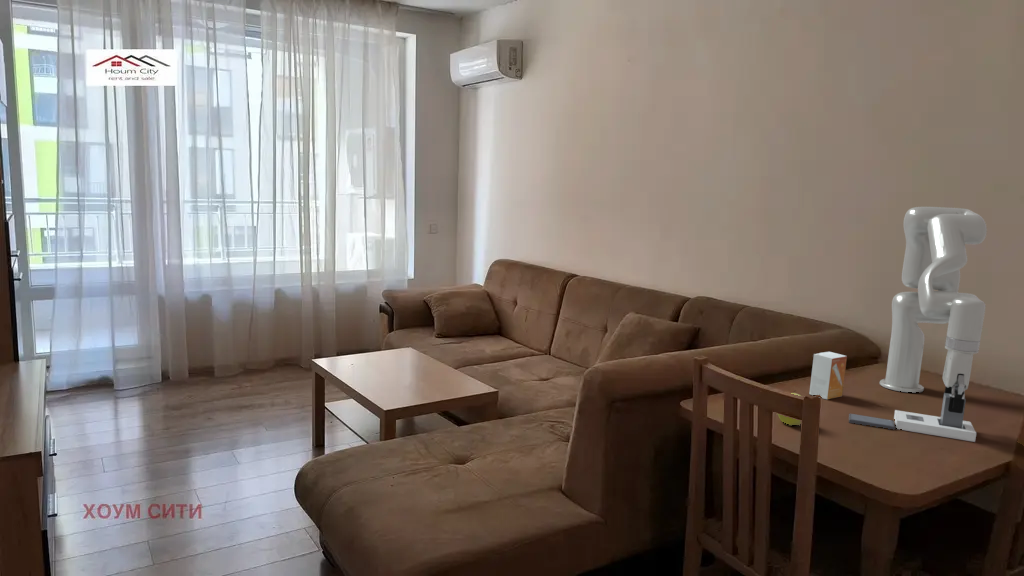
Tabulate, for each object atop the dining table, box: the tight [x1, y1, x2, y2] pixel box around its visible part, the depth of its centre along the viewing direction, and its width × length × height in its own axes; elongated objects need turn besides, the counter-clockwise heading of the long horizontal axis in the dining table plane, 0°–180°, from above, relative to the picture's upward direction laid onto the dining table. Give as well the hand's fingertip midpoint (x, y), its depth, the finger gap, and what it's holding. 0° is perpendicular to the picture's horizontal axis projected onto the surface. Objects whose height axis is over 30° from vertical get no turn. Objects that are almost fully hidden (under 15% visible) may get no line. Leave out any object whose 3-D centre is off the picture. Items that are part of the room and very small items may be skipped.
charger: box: [940, 392, 967, 429], centre depth 186 cm, size 4×4×10 cm
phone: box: [848, 413, 896, 431], centre depth 192 cm, size 6×11×1 cm, turn 65°
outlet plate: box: [893, 409, 977, 443], centre depth 188 cm, size 10×18×3 cm, turn 64°
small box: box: [809, 351, 848, 400], centre depth 215 cm, size 8×6×13 cm
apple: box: [777, 390, 802, 427], centre depth 188 cm, size 8×8×10 cm
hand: (952, 406), depth 186 cm, fingers open, 9 cm apart
